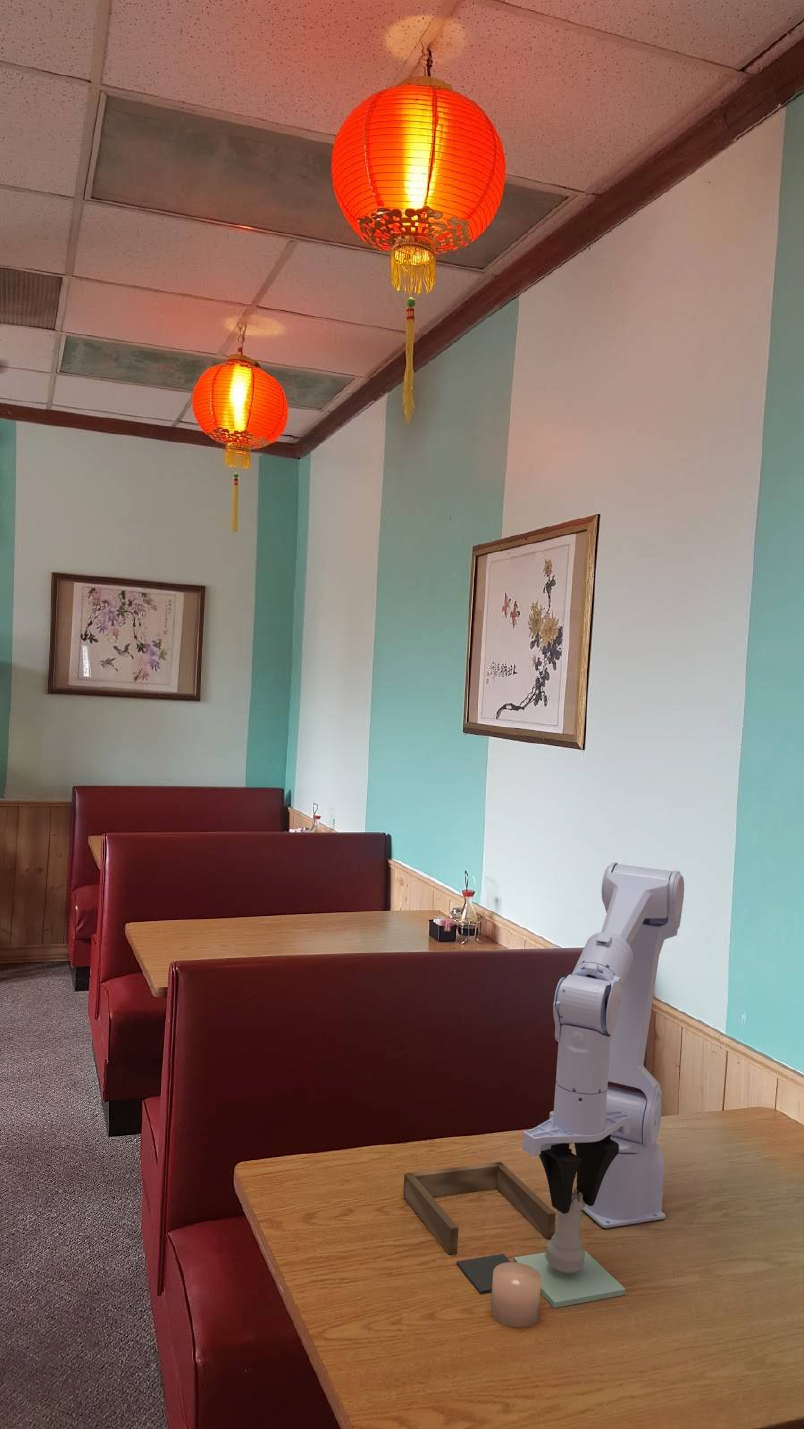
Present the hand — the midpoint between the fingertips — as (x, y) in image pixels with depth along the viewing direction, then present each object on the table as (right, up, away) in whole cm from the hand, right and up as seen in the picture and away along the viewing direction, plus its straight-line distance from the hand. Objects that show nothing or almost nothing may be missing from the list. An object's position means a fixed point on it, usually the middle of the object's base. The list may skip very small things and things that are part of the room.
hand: (573, 1205), depth 112 cm
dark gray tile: (-9, -8, 0) cm, 12 cm away
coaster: (-1, -8, 0) cm, 8 cm away
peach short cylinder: (-7, -8, -7) cm, 13 cm away
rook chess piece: (-1, -7, +1) cm, 7 cm away
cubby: (-10, -8, +12) cm, 18 cm away
